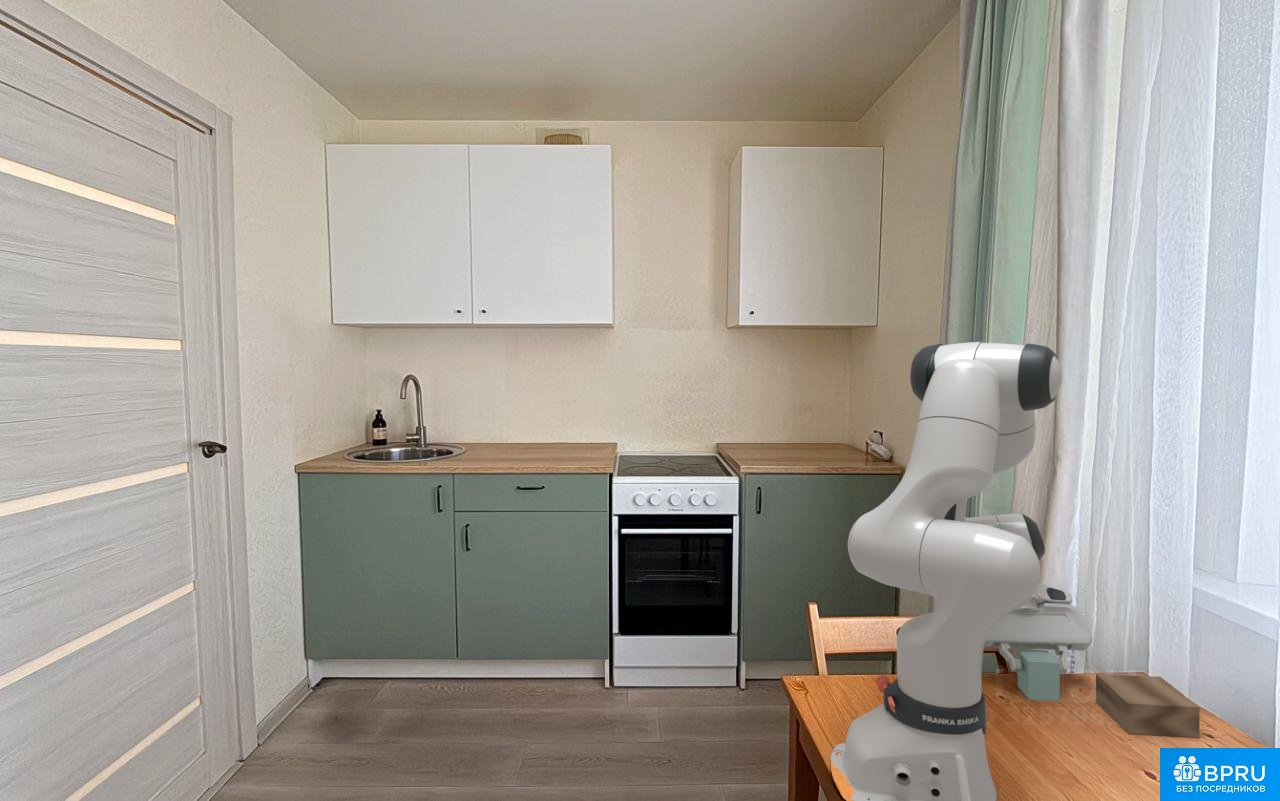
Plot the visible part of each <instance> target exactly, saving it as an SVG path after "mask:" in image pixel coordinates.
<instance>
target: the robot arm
mask: <svg viewBox="0 0 1280 801" xmlns="http://www.w3.org/2000/svg"><path fill="white" fill-rule="evenodd" d="M910 366H911V367H910V372H909V373H910V374H909V379H910V386H911V390H912V392H913V394H914V396H916V397H917V399H918V400H920V401H921V402H922V403H921V406H920V409H919V415H918V419H917V424H916V428H915V429H916V431H915V435H914V439H913V445H912V449H911V453H910V456H909V460H908V464H907V466H906V470H905V471H904V472H905V473H904V474H903V476H902V479H901V480H900V482H899V484H898V485H897V486H896V488H895V489H894V491H893V492H891V494H890V495H889V496H888V497H887V498H886V499H885V500H884V501H883V502H882V503H880V504H879V505H878V506H876V507H875V508H873V509H872V510H870V511H868V512H866V513H864V514H863V515H861V516H860V517H859V518H857V520H856V521H855V522H854V523H853V525H852V527H851V529H850V531H849V535H848V537H847V538H848V539H847V550H848V556H849V559H850V561H851V564H852V565H853V568H854V569H855V570H856V572H858V573H860V574H861V575H864V576H866V577H867V578H870V579H872V580H874V581H876V582H879V583H881V584H883V585H886V586H889V587H894V588H898V589H903V590H907V591H912V592H916V593H921V594H925V595H928V596H931V597H933V600H934V603H935V604H934V611H931V612H928V613H924V614H919V615H917V616H914V617H912V618H910V619H908V620H907V621H905V622H904V623H903V624H902V625H901V627H900V628H899V630H898V633H897V636H896V665H897V666H896V667H897V668H896V669H897V670H896V671H897V673H896V674H897V678H896V679H895V680H893V682H890V678H888V676H887V675H885V674H879V675H878V676H877V677H876V678H875V684H876V686H877V689H878V690H879V692H881V694H882V695H883V697H882V699H883V700H882V701H883V703H882V704H880V705H879V706H876V707H875V708H873V709H872V710H869V711H867V712H866V713H865V714H864V713H863V715H861V716H858V717H857V718H855V719H854V720H853V721H852V722H851V723H850V725H849V728H848V730H847V734H846V740H845V742H841V743H838V744H836V745H835V747H834V748H833V750H832V751H831V754H830V760H831V762H832V763H833V764H834V766H835V768H838V769H839V771H840V772H841V771H842V772H843V774H844V776H845V777H846V779H847V781H848V782H849V784H850V785H851V786H852V789H854V792H855V794H854V795H853V796H852V798H851V800H853V801H997V797H998V794H997V789H996V786H995V784H994V780H993V778H992V774H991V769H990V766H989V761H988V756H987V750H986V741H985V735H986V734H987V721H988V718H987V717H988V716H987V715H988V714H987V712H988V711H987V702H986V697H985V694H984V693H983V692H982V689H983V688H982V685H983V684H982V678H983V677H982V675H983V674H982V673H983V672H982V669H983V657H984V648H997V649H998V652H999V654H1000V655H1001V656H1002V658H1003V659H1004V660H1006V662H1007V663H1008V665H1009V668H1010V671H1011V672H1017V673H1018V672H1021V670H1022V665H1021V661H1020V659H1017V658H1015V657H1014V655H1013V654H1012V653H1011V652H1010V649H1023V650H1054V652H1055V655H1056V656H1058V657H1059V658H1058V660H1057V661H1058V662H1059V673H1060V674H1065V675H1066V674H1067V673H1068V667H1067V665H1066V664H1067V663H1066V660H1067V656H1068V653H1069V651H1079V652H1080V651H1081V652H1082V651H1083V652H1084V651H1085V650H1087V649H1088V648H1089V647H1090V645H1092V642H1093V636H1092V633H1091V631H1090V628H1089V626H1088V624H1087V622H1086V619H1085V618H1084V615H1083V614H1082V613H1081V611H1080V609H1078V607H1076V606H1074V605H1073V604H1072V603H1073V595H1072V594H1071V592H1069V591H1067V590H1064V589H1060V588H1056V587H1053V586H1050V585H1046V584H1043V583H1041V565H1040V561H1041V559H1042V558H1043V556H1044V555H1045V554H1046V547H1045V544H1044V541H1043V538H1042V535H1041V531H1040V529H1039V527H1038V523H1037V522H1035V521H1034V519H1031V518H1030V517H1029V516H1027V515H1026V514H1023V513H1003V514H994V515H984V516H974V517H972V516H971V517H966V512H967V511H966V510H967V502H968V499H970V498H973V497H975V496H978V495H980V494H981V493H982V492H983V491H985V490H986V489H987V487H989V485H990V484H991V481H992V479H993V476H994V475H997V474H999V473H1001V472H1004V471H1007V470H1009V469H1012V468H1014V467H1015V466H1017V465H1019V464H1020V463H1021V462H1023V461H1025V459H1026V458H1027V457H1028V456H1029V455H1030V453H1031V452H1032V450H1033V448H1034V446H1035V441H1036V417H1035V414H1036V413H1035V410H1040V409H1045V408H1047V406H1049V405H1051V404H1052V403H1054V401H1055V400H1056V397H1057V395H1058V393H1059V391H1060V388H1061V385H1062V380H1063V372H1062V371H1063V370H1062V367H1061V364H1060V362H1059V360H1058V357H1057V354H1056V353H1055V351H1054V350H1052V349H1051V348H1050V347H1048V346H1046V345H1041V344H1035V343H1029V342H1028V343H1026V344H1015V343H1005V342H1004V343H1003V342H1001V343H1000V342H984V341H971V342H960V343H959V342H958V343H951V344H943V343H937V344H932V345H928V346H924V347H921V349H920V350H918V352H917V353H916V354H915V355H914V356H913V360H912V363H911V365H910ZM836 753H840V754H841V755H840V756H838V755H836ZM854 792H853V793H854Z"/></svg>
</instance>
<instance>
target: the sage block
mask: <svg viewBox="0 0 1280 801" xmlns="http://www.w3.org/2000/svg"><path fill="white" fill-rule="evenodd" d="M1016 652H1017V653H1016V654H1017V655H1016V656H1017V658H1016V659H1020V661H1021V665H1022V670H1021V672H1017V687H1018V689H1020V690H1021V692H1022V693H1023V695H1024V696H1025V698H1027V699H1028V701H1040V702H1041V701H1043V702H1058V703H1059V702H1061V701H1060V700H1061V697H1060V696H1061V690H1060V689H1061V686H1060V685H1061V684H1060V682H1061V680H1060V679H1061V677H1060V674H1061V673H1059V662H1058V660H1057V659H1056V658H1055V657H1054V656H1053V655H1052V653H1050V652H1049V651H1048V650H1045V649H1017V651H1016Z"/></svg>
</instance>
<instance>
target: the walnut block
mask: <svg viewBox="0 0 1280 801" xmlns="http://www.w3.org/2000/svg"><path fill="white" fill-rule="evenodd" d="M1095 702H1096V703H1097V704H1098V706H1100V707H1101V708H1102V709H1103V710H1104V712H1105V713H1107V714H1108V715H1109V716H1110V717H1111V718H1112V719H1113V720H1114V721H1115V722H1116V723H1117V724H1118V725H1119V726H1120V727H1121V728H1122V729H1123V730H1124V731H1125V732H1126V733H1127V734H1128V735H1138V736H1139V735H1141V736H1159V737H1176V738H1177V737H1179V738H1192V737H1199V738H1200V706H1199V705H1198V704H1196V703H1194V701H1192V700H1191V699H1190V698H1189V697H1187V696H1186V695H1184V693H1182V692H1181V691H1180V690H1178V689H1177V688H1176V687H1174V686H1173V685H1172V684H1170V683H1169V682H1168V681H1167V680H1165V679H1164V678H1163V677H1161V676H1155V675H1154V676H1153V675H1134V674H1133V675H1130V674H1129V675H1128V674H1127V675H1126V674H1106V673H1105V674H1104V673H1102V674H1101V673H1096V674H1095Z"/></svg>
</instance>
